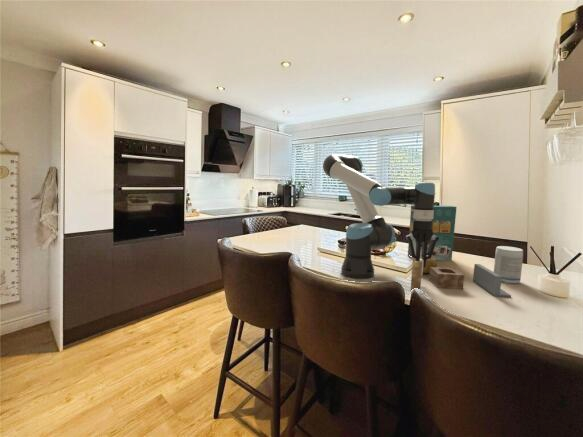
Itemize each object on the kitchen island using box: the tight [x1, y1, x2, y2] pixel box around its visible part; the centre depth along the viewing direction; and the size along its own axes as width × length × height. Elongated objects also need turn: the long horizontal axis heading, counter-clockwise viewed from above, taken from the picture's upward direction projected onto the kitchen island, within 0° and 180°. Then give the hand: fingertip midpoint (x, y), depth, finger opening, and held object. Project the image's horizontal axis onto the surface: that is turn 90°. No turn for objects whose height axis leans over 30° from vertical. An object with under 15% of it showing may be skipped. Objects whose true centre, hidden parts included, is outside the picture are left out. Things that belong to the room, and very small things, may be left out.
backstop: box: [472, 263, 512, 298], centre depth 112 cm, size 6×16×8 cm, turn 171°
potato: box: [412, 255, 438, 274], centre depth 132 cm, size 10×14×8 cm
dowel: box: [410, 260, 422, 291], centre depth 108 cm, size 4×4×12 cm
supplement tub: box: [493, 245, 524, 284], centre depth 121 cm, size 10×10×15 cm
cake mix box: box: [407, 205, 457, 261], centre depth 155 cm, size 22×6×30 cm, turn 85°
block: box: [429, 267, 465, 290], centre depth 116 cm, size 10×9×6 cm
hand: (419, 274), depth 117 cm, fingers closed
